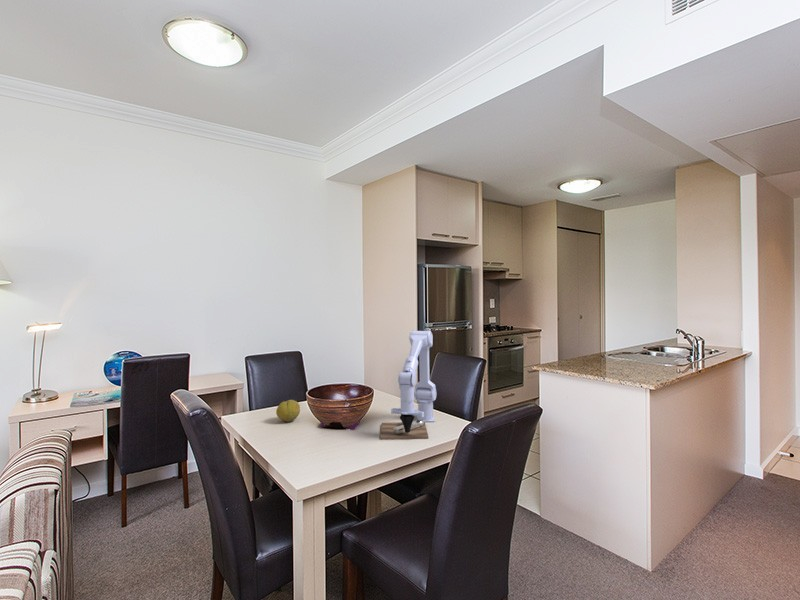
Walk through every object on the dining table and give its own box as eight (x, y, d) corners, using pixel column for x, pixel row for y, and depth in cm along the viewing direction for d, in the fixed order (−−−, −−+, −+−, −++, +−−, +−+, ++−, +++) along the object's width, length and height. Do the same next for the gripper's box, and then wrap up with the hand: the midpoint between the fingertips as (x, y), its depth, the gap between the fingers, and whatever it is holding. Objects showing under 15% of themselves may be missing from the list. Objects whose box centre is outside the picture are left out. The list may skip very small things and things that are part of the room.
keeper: (420, 423, 190) (420, 414, 190) (421, 427, 183) (421, 419, 183) (402, 423, 190) (402, 415, 190) (402, 428, 183) (402, 419, 183)
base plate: (381, 424, 191) (381, 422, 191) (424, 424, 192) (424, 421, 192) (380, 439, 171) (380, 437, 171) (428, 438, 172) (428, 436, 172)
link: (418, 423, 189) (418, 419, 189) (425, 425, 186) (425, 420, 186) (392, 432, 176) (392, 427, 176) (399, 434, 174) (399, 429, 174)
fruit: (305, 420, 199) (305, 400, 199) (284, 426, 190) (283, 404, 190) (293, 416, 207) (293, 396, 207) (271, 421, 198) (271, 400, 198)
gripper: (387, 400, 174) (388, 432, 174) (419, 404, 168) (419, 437, 168) (395, 396, 181) (395, 427, 181) (425, 400, 174) (426, 432, 174)
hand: (407, 432), depth 175 cm, fingers closed
